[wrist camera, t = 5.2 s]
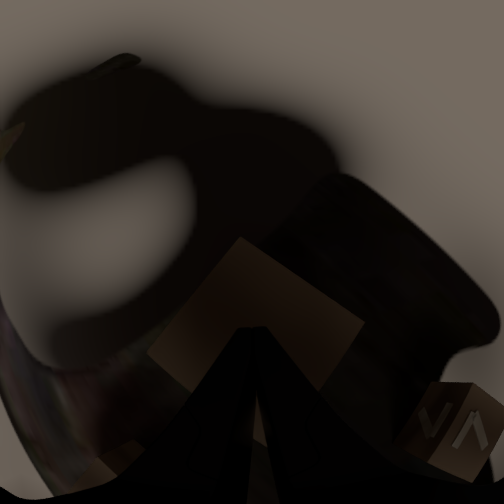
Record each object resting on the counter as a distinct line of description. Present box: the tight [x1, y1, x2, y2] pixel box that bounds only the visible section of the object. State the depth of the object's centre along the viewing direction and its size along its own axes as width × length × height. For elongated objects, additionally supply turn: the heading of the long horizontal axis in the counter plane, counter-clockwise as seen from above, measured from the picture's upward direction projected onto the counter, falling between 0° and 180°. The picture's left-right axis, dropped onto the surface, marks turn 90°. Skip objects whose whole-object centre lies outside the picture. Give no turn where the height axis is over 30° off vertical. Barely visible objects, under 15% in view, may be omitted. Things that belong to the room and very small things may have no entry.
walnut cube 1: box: [67, 439, 146, 494], centre depth 12 cm, size 5×5×5 cm
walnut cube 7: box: [393, 382, 504, 483], centre depth 12 cm, size 5×5×5 cm
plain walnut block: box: [146, 237, 365, 447], centre depth 14 cm, size 6×6×8 cm
